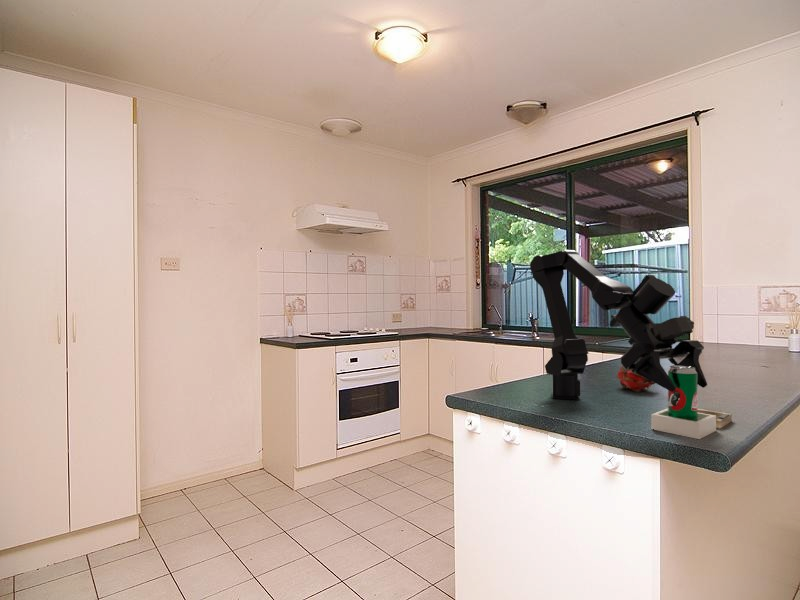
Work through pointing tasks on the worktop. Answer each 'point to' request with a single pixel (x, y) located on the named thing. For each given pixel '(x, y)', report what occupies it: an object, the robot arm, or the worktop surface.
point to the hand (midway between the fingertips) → (690, 388)
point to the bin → (684, 424)
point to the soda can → (683, 393)
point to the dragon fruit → (633, 380)
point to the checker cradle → (718, 417)
